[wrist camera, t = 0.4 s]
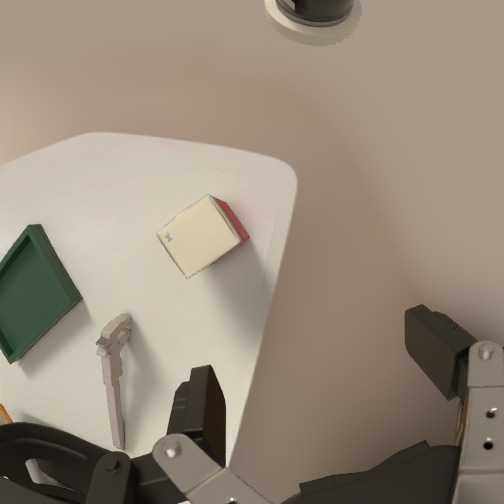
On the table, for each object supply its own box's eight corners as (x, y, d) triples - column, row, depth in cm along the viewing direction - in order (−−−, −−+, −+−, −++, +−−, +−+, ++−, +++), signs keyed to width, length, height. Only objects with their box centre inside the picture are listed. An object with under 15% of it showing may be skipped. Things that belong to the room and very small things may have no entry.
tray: (40, 223, 32) (28, 224, 29) (82, 298, 32) (71, 302, 30) (-15, 297, 34) (-25, 300, 31) (19, 359, 34) (9, 364, 32)
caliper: (124, 311, 32) (94, 329, 25) (133, 314, 32) (104, 333, 25) (117, 445, 34) (98, 472, 28) (125, 448, 34) (106, 476, 28)
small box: (208, 267, 30) (185, 282, 23) (183, 230, 30) (152, 233, 22) (251, 237, 30) (242, 242, 22) (225, 199, 30) (207, 192, 22)
